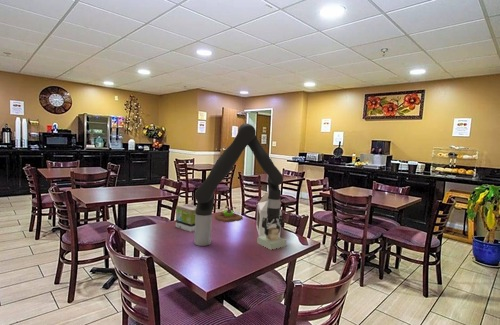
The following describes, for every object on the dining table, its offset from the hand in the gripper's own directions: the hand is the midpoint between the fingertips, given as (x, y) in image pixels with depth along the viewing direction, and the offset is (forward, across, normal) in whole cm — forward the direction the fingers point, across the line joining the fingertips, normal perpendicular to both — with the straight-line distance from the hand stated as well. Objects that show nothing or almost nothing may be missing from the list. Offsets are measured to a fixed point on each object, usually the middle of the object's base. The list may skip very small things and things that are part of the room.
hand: (272, 233), depth 168 cm
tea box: (+7, +29, -51) cm, 59 cm away
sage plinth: (+7, 0, 0) cm, 7 cm away
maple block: (+3, 0, 0) cm, 3 cm away
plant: (+8, -7, -59) cm, 60 cm away
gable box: (+7, -13, -19) cm, 24 cm away
